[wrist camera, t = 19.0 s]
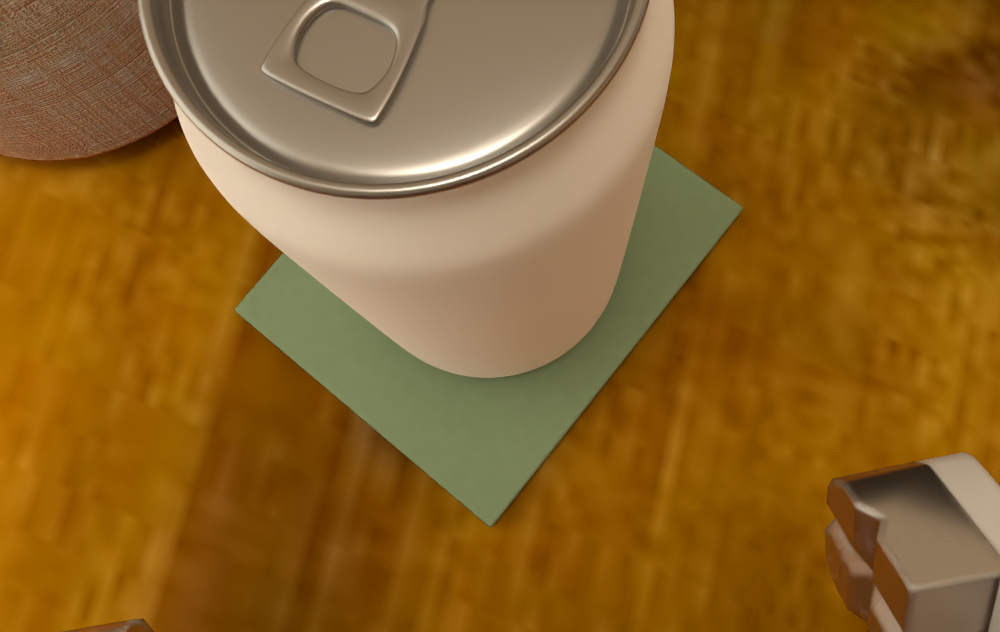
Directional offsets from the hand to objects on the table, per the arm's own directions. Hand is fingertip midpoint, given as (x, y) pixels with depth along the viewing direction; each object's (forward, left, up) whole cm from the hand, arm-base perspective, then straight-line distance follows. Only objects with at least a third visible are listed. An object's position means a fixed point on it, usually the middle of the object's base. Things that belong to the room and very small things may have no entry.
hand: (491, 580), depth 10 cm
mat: (+5, +5, -10) cm, 12 cm away
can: (+5, +5, -10) cm, 12 cm away
